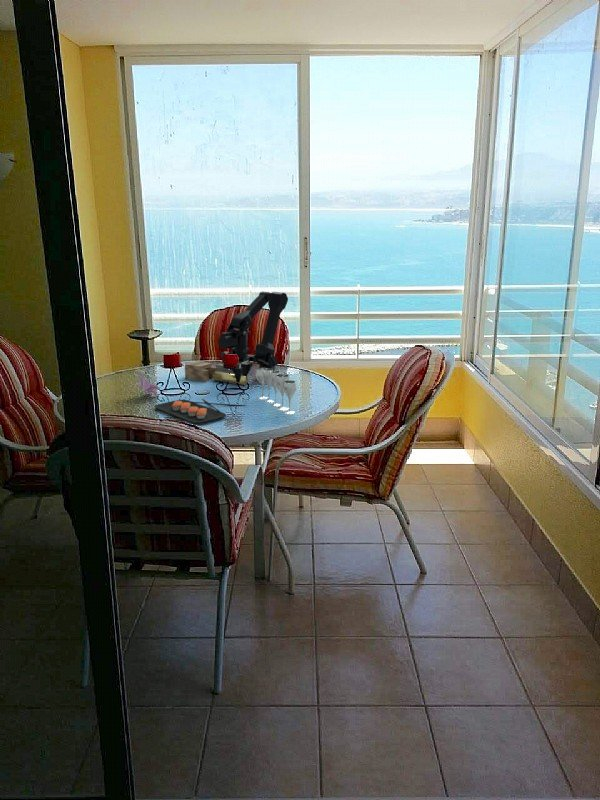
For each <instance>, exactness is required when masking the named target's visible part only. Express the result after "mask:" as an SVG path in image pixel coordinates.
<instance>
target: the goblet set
mask: <svg viewBox="0 0 600 800" xmlns="http://www.w3.org/2000/svg"><path fill="white" fill-rule="evenodd" d="M254 374H255V378H256V381H258V382H259V383H260V385H261V395H259V396H257V397H256V399H258V398H259V399H258V400H264V401H265V402H264V403H267V402H269V403H270V402H271V404H270V406H271V407H276V410H278V411H283V414H285V415H294V413H295V412H296V411H294V410H291V401H292V398H293V396H294V395H295V393H296V391H297V382H296V381H295V380H290V375H289V374H286V373H281V371H279V370H275V371H273V369H268V368H259V367H258V368H256V370H255V373H254ZM265 384H266V385H267V390H268V391H267V392H268V396H267V397H266V396H265V395H264V386H265ZM271 386H272V387H273V390H274V395H275V396H274V397H275V398H274V399H275V400H273V399H270V398H269V397H270V392H271V389H270V388H271ZM278 391H279V393H280V395H281V403H277V392H278ZM285 395H286V397H287V400H288V407H287V406H284V396H285ZM267 398H268V399H267ZM269 403H268V404H269ZM295 414H296V413H295Z"/></svg>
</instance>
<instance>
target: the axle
mask: <svg viewBox="0 0 600 800" xmlns="http://www.w3.org/2000/svg"><path fill="white" fill-rule="evenodd" d="M212 380H213V381H215V382H217V381H218V382H223V383H228V382H227V381H228V380H229V384H236V383H238V384H236V385H241V386H246V385H247V384H248V381H249V379H248V375H247V376H243V375H241V379H240V382H237V381H236V378H235V375H234V374H229V373H223V372H216V371H215V372H214V373H213V378H212ZM245 384H246V385H245Z"/></svg>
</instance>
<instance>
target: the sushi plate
mask: <svg viewBox="0 0 600 800" xmlns="http://www.w3.org/2000/svg"><path fill="white" fill-rule="evenodd" d="M201 400H202V401H203V402H200V401H199V402H198V401H191V400H187V399H177V400H171V401H167V402H162V403H159V404H156V405H154V408H155V409H156V410H159V411H161V412H164V413H166V414H169V415H171V416H174V417H176V418H179V419H182V420H183V421H184V420H185V421H187V422H189V423H192V424H204V423H207V422H212V421H216V420H219V419H223V418H224V417H226V416H227V414H226V413H225V412H222V411H220V410H219V409H218V408H216V407H215V406H213V405H216V406H217V405H218V406H228V407H247V406H246V405H247V404H233V403H232V404H230V403H217V402H216V403H215V402H208V401H207V400H206V399H204V398H201ZM202 404H206V405H208V406H210V407H208V406H205V405H202Z"/></svg>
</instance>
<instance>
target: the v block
mask: <svg viewBox="0 0 600 800" xmlns="http://www.w3.org/2000/svg"><path fill="white" fill-rule="evenodd" d="M215 367H217V372H223V373H229V372H230V374H233V371H232V370H228V369H224V368H223V363H218V364H217V363H216V365H215ZM253 371H254V368H253V366H252V367H251V369H250V371H249V373H248V375H251V374H253Z"/></svg>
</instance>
